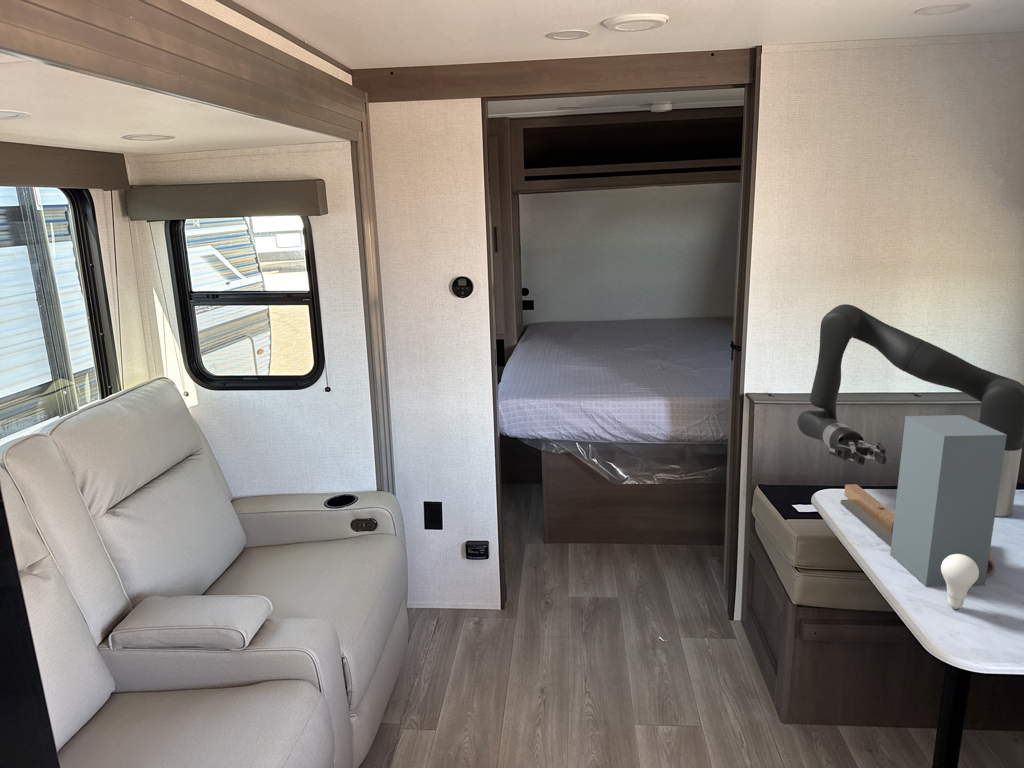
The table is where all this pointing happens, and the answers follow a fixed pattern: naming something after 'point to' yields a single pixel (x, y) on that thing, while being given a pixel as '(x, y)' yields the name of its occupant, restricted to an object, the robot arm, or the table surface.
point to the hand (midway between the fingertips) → (873, 460)
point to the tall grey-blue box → (946, 494)
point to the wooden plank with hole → (870, 506)
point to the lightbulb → (958, 577)
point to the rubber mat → (868, 521)
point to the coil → (991, 565)
